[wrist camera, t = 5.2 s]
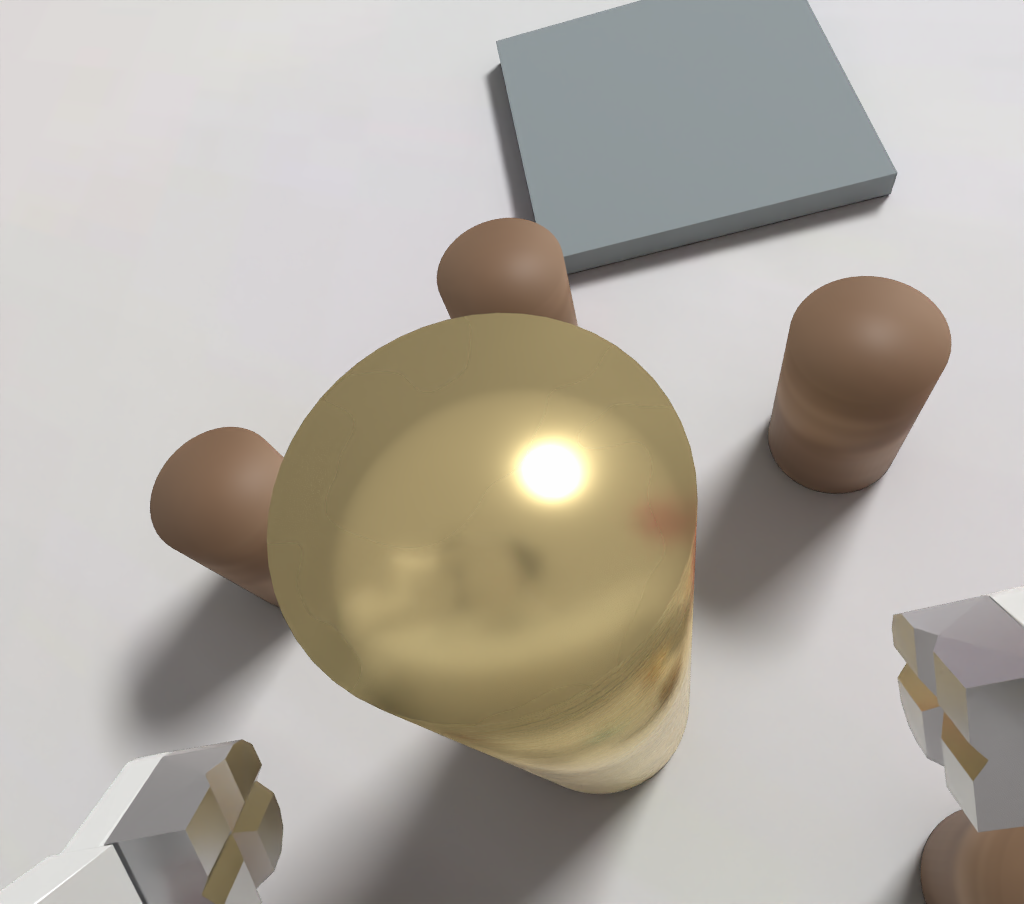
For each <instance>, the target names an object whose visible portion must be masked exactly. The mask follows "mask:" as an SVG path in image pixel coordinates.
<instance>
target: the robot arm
mask: <svg viewBox="0 0 1024 904" xmlns="http://www.w3.org/2000/svg"><path fill="white" fill-rule="evenodd" d="M892 633H893V642H894V646H895V648H896V649H897V650H898V652H899V653H900V654H901V656H902V657H903V658H904V660H905V661H906V662H907V663H906V665H905V667H904V668H903V670H902V671H901V673H900V675H899V676H898V684H899V691H900V697H901V703H902V706H903V709H904V713H905V716H906V719H907V722H908V725H909V727H910V729H911V731H912V734H913V736H914V738H915V740H916V742H917V743H918V745H919V746H920V748H921V749H922V751H923V753H924V754H925V756H926V757H927V758H928V759H930V760H932V761H934V762H936V763H938V764H940V765H942V766H944V768H945V777H946V786H947V788H948V790H949V791H950V792H951V794H952V795H953V797H954V798H955V800H956V801H957V803H958V804H959V806H960V807H961V808H962V810H963V811H964V813H965V814H966V816H967V817H968V819H969V820H970V821H971V823H972V824H973V826H974V827H975V829H976V830H977V832H985V831H993V830H1000V829H1008V828H1015V827H1023V826H1024V586H1020V587H1016V588H1012V589H1007V590H1003V591H998V592H994V593H990V594H985V595H981V596H979V597H975V598H970V599H965V600H961V601H956V602H951V603H947V604H942V605H937V606H932V607H928V608H923V609H918V610H914V611H909V612H904V613H900V614H895V615H893V623H892ZM261 766H262V764H261V762H260V760H259V758H258V756H257V754H256V751H255V749H254V747H253V745H252V744H251V743H248V742H246V741H244V740H242V739H241V740H235V741H230V742H224V743H218V744H212V745H206V746H200V747H194V748H189V749H183V750H177V751H173V752H164V753H160V754H155V755H150V756H145V757H140V758H137V759H135V760H132V761H130V762H128V763H127V764H126V765H125V766H124V768H123V769H122V770H121V772H120V773H119V775H118V776H117V777H116V779H115V780H114V781H113V783H112V784H111V786H110V787H109V788H108V790H107V791H106V792H105V794H104V795H103V796H102V798H101V799H100V801H99V802H98V803H97V805H96V806H95V807H94V809H93V810H92V812H91V813H90V814H89V816H88V817H87V818H86V820H85V821H84V822H83V824H82V825H81V827H80V828H79V829H78V831H77V832H76V833H75V835H74V836H73V838H72V839H71V840H70V842H69V843H68V844H67V846H66V847H65V848H64V850H63V851H62V853H61V854H57V855H51V856H48V857H47V858H46V859H44V860H43V861H41V862H40V863H39V864H37V865H36V866H34V867H33V868H32V869H30V870H29V871H27V872H26V873H25V874H23V875H22V876H21V877H19V878H18V879H16V880H15V881H14V882H12V883H11V884H9V885H8V886H7V887H5V888H4V889H3V890H1V891H0V904H262V901H261V898H260V896H259V894H258V891H257V888H258V887H259V886H260V885H261V884H262V883H263V882H264V881H265V880H266V879H267V878H268V877H269V876H270V875H271V874H272V873H273V872H274V870H275V868H276V865H277V862H278V859H279V857H280V854H281V850H282V837H283V823H282V818H281V812H280V808H279V805H278V803H277V800H276V798H275V795H274V793H273V792H272V791H270V790H269V789H267V788H266V787H265V786H263V785H262V784H260V783H259V782H257V778H258V775H259V772H260V769H261Z"/></svg>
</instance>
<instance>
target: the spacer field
mask: <svg viewBox="0 0 1024 904" xmlns="http://www.w3.org/2000/svg"><path fill="white" fill-rule="evenodd" d="M437 285H438V290H439V293H440V295H441V297H442V300H443V302H444V304H445V306H446V309H447V311H448V313H449V315H450V318H451V319H454V318H459V317H464V316H469V315H478V314H490V313H517V314H528V315H535V316H542V317H548V318H551V319H555V320H559V321H562V322H566V323H570V324H573V325H575V326H578V325H577V320H576V315H575V310H574V305H573V300H572V295H571V291H570V286H569V281H568V276H567V271H566V266H565V261H564V257H563V252H562V249H561V246H560V244H559V242H558V240H557V239H556V238H555V236H554V235H553V234H552V233H551V232H550V231H549V230H547V229H546V228H545V227H543V226H541V225H539V224H537V223H535V222H532V221H529V220H525V219H519V218H502V219H495V220H490V221H487V222H484V223H481V224H479V225H477V226H474V227H473V228H471V229H469V230H467V231H466V232H464V233H463V234H461V235H460V236H459V237H458V238H457V239H456V240H455V241H454V242H453V243H452V244H451V245H450V246H449V247H448V249H447V250H446V251H445V253H444V255H443V257H442V259H441V261H440V264H439V267H438V271H437ZM950 352H951V334H950V330H949V327H948V324H947V322H946V319H945V318H944V316H943V314H942V313H941V311H940V310H939V309H938V307H937V306H936V305H935V304H934V303H933V302H932V301H931V300H930V299H929V298H928V297H926V296H925V295H924V294H922V293H921V292H920V291H918V290H916V289H914V288H913V287H911V286H908V285H906V284H904V283H901V282H898V281H895V280H892V279H887V278H883V277H874V276H858V277H849V278H844V279H840V280H837V281H833V282H831V283H829V284H826V285H824V286H822V287H820V288H819V289H817V290H815V291H814V292H813V293H811V294H810V295H809V296H808V297H807V298H806V299H805V300H804V301H803V302H802V303H801V304H800V306H799V307H798V308H797V310H796V312H795V313H794V315H793V318H792V321H791V324H790V329H789V334H788V339H787V343H786V348H785V353H784V358H783V363H782V367H781V372H780V377H779V382H778V386H777V391H776V396H775V401H774V406H773V410H772V415H771V420H770V425H769V430H768V441H769V447H770V451H771V453H772V456H773V458H774V460H775V461H776V463H777V464H778V466H779V467H780V468H781V469H782V471H783V472H784V473H785V474H786V475H787V476H789V477H790V478H791V479H793V480H794V481H796V482H797V483H799V484H801V485H803V486H805V487H807V488H809V489H812V490H816V491H820V492H825V493H848V492H853V491H857V490H860V489H863V488H865V487H868V486H869V485H871V484H873V483H874V482H876V481H877V480H878V479H880V478H881V477H882V476H883V475H884V474H885V473H886V471H887V470H888V468H889V467H890V465H891V464H892V462H893V460H894V458H895V456H896V455H897V453H898V451H899V449H900V447H901V446H902V444H903V442H904V440H905V438H906V437H907V435H908V433H909V431H910V429H911V428H912V426H913V424H914V422H915V420H916V419H917V417H918V415H919V413H920V411H921V410H922V408H923V406H924V404H925V402H926V401H927V399H928V397H929V395H930V394H931V392H932V390H933V388H934V386H935V385H936V383H937V381H938V379H939V377H940V376H941V374H942V372H943V370H944V368H945V366H946V364H947V362H948V359H949V356H950ZM283 459H284V457H283V456H282V455H280V454H279V453H278V452H277V451H276V450H275V449H274V448H273V447H272V446H271V445H270V444H269V443H268V442H267V441H266V440H265V439H263V438H262V437H261V436H260V435H258V434H256V433H255V432H253V431H250V430H247V429H244V428H239V427H223V428H217V429H213V430H210V431H207V432H204V433H202V434H200V435H198V436H196V437H194V438H192V439H191V440H189V441H188V442H186V443H185V444H184V445H182V446H181V447H180V448H179V449H178V450H177V451H176V452H175V453H174V454H173V455H172V456H171V457H170V458H169V459H168V461H167V462H166V463H165V465H164V466H163V468H162V469H161V471H160V473H159V475H158V477H157V479H156V481H155V484H154V486H153V490H152V494H151V501H150V513H151V519H152V523H153V526H154V528H155V530H156V532H157V534H158V535H159V536H160V538H161V539H162V540H163V541H164V542H165V543H166V544H167V545H169V546H170V547H172V548H173V549H175V550H177V551H179V552H180V553H182V554H184V555H186V556H187V557H189V558H191V559H193V560H195V561H196V562H198V563H200V564H202V565H203V566H205V567H207V568H209V569H210V570H212V571H214V572H216V573H217V574H219V575H221V576H223V577H224V578H226V579H228V580H230V581H232V582H233V583H235V584H237V585H239V586H240V587H242V588H244V589H246V590H247V591H249V592H251V593H253V594H254V595H256V596H258V597H260V598H261V599H263V600H265V601H267V602H269V603H270V604H272V605H275V606H277V607H280V606H279V603H278V601H277V598H276V595H275V593H274V589H273V584H272V579H271V575H270V570H269V564H268V551H267V527H268V513H269V508H270V502H271V497H272V492H273V488H274V484H275V481H276V478H277V475H278V472H279V469H280V466H281V463H282V461H283ZM920 871H921V885H922V891H923V895H924V899H925V902H926V904H1024V826H1023V827H1015V828H1008V829H1000V830H993V831H985V832H977V830H976V829H975V827H974V826H973V824H972V823H971V821H970V820H969V819H968V817H967V816H966V814H965V813H964V811H963V810H959V811H957V812H955V813H953V814H951V815H950V816H948V817H946V818H945V819H944V820H943V821H942V822H940V823H939V824H938V826H937V827H936V828H935V829H934V830H933V832H932V833H931V835H930V837H929V838H928V840H927V843H926V845H925V847H924V851H923V855H922V859H921V869H920Z"/></svg>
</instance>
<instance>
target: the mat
mask: <svg viewBox="0 0 1024 904" xmlns="http://www.w3.org/2000/svg"><path fill="white" fill-rule="evenodd" d="M496 44H497V49H498V53H499V58H500V62H501V67H502V71H503V76H504V80H505V85H506V90H507V94H508V99H509V103H510V108H511V112H512V117H513V121H514V126H515V130H516V135H517V139H518V144H519V149H520V153H521V158H522V162H523V167H524V171H525V176H526V180H527V185H528V189H529V194H530V198H531V203H532V208H533V212H534V217H535V221H536V223H537V224H539V225H541V226H543V227H545V228H546V229H547V230H549V231H550V232H551V233H552V234H553V235H554V236H555V238H556V239H557V240H558V242H559V244H560V246H561V249H562V252H563V257H564V261H565V266H566V271H567V274H570V273H574V272H578V271H582V270H586V269H590V268H594V267H598V266H602V265H606V264H610V263H614V262H618V261H622V260H626V259H630V258H634V257H638V256H642V255H646V254H650V253H654V252H658V251H663V250H667V249H671V248H675V247H679V246H683V245H687V244H691V243H695V242H699V241H703V240H707V239H711V238H715V237H719V236H723V235H727V234H731V233H735V232H739V231H743V230H747V229H751V228H755V227H759V226H763V225H767V224H771V223H775V222H779V221H783V220H787V219H791V218H795V217H799V216H803V215H807V214H811V213H815V212H819V211H823V210H827V209H831V208H835V207H839V206H843V205H848V204H852V203H856V202H860V201H864V200H868V199H872V198H876V197H880V196H884V195H888V194H891V191H892V188H893V185H894V182H895V179H896V176H897V171H896V169H895V167H894V166H893V164H892V162H891V160H890V158H889V156H888V154H887V152H886V150H885V148H884V146H883V145H882V143H881V141H880V139H879V137H878V135H877V133H876V131H875V129H874V127H873V125H872V124H871V122H870V120H869V118H868V116H867V114H866V112H865V110H864V108H863V106H862V105H861V103H860V101H859V99H858V97H857V95H856V93H855V91H854V89H853V87H852V85H851V84H850V82H849V80H848V78H847V76H846V74H845V72H844V70H843V68H842V66H841V64H840V63H839V61H838V59H837V57H836V55H835V53H834V51H833V49H832V47H831V45H830V43H829V42H828V40H827V38H826V36H825V34H824V32H823V30H822V28H821V26H820V24H819V22H818V21H817V19H816V17H815V15H814V13H813V11H812V9H811V7H810V5H809V3H808V1H807V0H641V1H637V2H633V3H630V4H626V5H623V6H619V7H616V8H612V9H609V10H605V11H602V12H598V13H595V14H591V15H587V16H584V17H580V18H577V19H573V20H570V21H566V22H563V23H559V24H556V25H552V26H548V27H545V28H541V29H538V30H534V31H531V32H527V33H524V34H520V35H517V36H513V37H510V38H506V39H502V40H499V41H496Z"/></svg>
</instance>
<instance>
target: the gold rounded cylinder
mask: <svg viewBox="0 0 1024 904" xmlns="http://www.w3.org/2000/svg"><path fill="white" fill-rule="evenodd" d="M697 502H698V500H697V484H696V472H695V467H694V462H693V457H692V453H691V448H690V445H689V442H688V439H687V436H686V434H685V431H684V428H683V426H682V423H681V421H680V419H679V417H678V415H677V413H676V412H675V410H674V408H673V406H672V404H671V402H670V401H669V399H668V397H667V396H666V395H665V393H664V392H663V391H662V389H661V388H660V387H659V385H658V384H657V383H656V381H655V380H654V379H653V378H652V377H651V376H650V375H649V374H648V373H647V372H646V371H645V370H644V369H643V368H642V367H641V366H640V365H639V364H638V363H637V362H636V361H635V360H634V359H633V358H631V357H630V356H629V355H627V354H626V353H625V352H623V351H622V350H621V349H619V348H618V347H617V346H616V345H614V344H612V343H610V342H609V341H607V340H605V339H603V338H601V337H600V336H598V335H596V334H594V333H592V332H590V331H587V330H585V329H582V328H580V327H578V326H575V325H573V324H570V323H566V322H562V321H559V320H555V319H551V318H548V317H542V316H535V315H528V314H517V313H490V314H478V315H469V316H464V317H459V318H454V319H448V320H445V321H442V322H438V323H435V324H432V325H428V326H425V327H422V328H420V329H418V330H415V331H413V332H410V333H408V334H406V335H403V336H401V337H399V338H397V339H395V340H394V341H392V342H390V343H388V344H386V345H384V346H383V347H381V348H379V349H377V350H376V351H374V352H373V353H372V354H370V355H369V356H367V357H366V358H364V359H363V360H361V361H360V362H359V363H357V364H356V365H355V366H354V367H352V368H351V369H350V370H349V371H348V372H347V373H345V374H344V375H343V376H342V377H341V378H340V379H338V380H337V381H336V382H335V384H334V385H333V386H332V387H331V388H330V389H329V390H328V391H327V392H326V393H325V394H324V395H323V396H322V397H321V398H320V400H319V401H318V402H317V404H316V405H315V406H314V407H313V409H312V410H311V411H310V413H309V414H308V415H307V417H306V418H305V419H304V421H303V423H302V424H301V426H300V428H299V429H298V431H297V433H296V434H295V436H294V438H293V439H292V441H291V443H290V445H289V448H288V450H287V452H286V454H285V457H284V459H283V461H282V463H281V466H280V469H279V472H278V475H277V478H276V481H275V484H274V488H273V492H272V497H271V502H270V508H269V513H268V527H267V551H268V564H269V570H270V575H271V579H272V584H273V589H274V593H275V595H276V598H277V601H278V603H279V606H280V609H281V611H282V614H283V617H284V619H285V620H286V622H287V624H288V626H289V628H290V629H291V631H292V633H293V635H294V637H295V639H296V640H297V641H298V643H299V644H300V645H301V647H302V648H303V649H304V651H305V652H306V653H307V655H308V656H309V657H310V658H311V660H312V661H313V662H314V663H315V664H316V665H317V666H318V667H319V668H320V669H321V670H322V671H323V672H324V673H325V674H326V675H327V676H328V677H330V678H331V679H332V680H333V681H334V682H335V683H337V684H338V685H340V686H341V687H343V688H344V689H345V690H347V691H348V692H350V693H351V694H353V695H354V696H355V697H357V698H359V699H361V700H363V701H365V702H367V703H369V704H371V705H373V706H375V707H377V708H379V709H381V710H384V711H386V712H388V713H391V714H393V715H395V716H398V717H400V718H402V719H405V720H407V721H410V722H412V723H414V724H417V725H419V726H421V727H424V728H426V729H428V730H431V731H433V732H436V733H438V734H440V735H443V736H445V737H447V738H450V739H452V740H454V741H457V742H459V743H461V744H464V745H466V746H469V747H471V748H473V749H476V750H478V751H480V752H483V753H485V754H487V755H490V756H492V757H495V758H497V759H499V760H502V761H504V762H506V763H509V764H511V765H513V766H516V767H518V768H521V769H523V770H525V771H528V772H530V773H532V774H535V775H537V776H539V777H542V778H544V779H547V780H549V781H551V782H554V783H556V784H558V785H561V786H563V787H566V788H569V789H572V790H575V791H578V792H584V793H589V794H607V793H616V792H620V791H623V790H627V789H630V788H632V787H634V786H637V785H639V784H641V783H642V782H644V781H646V780H648V779H649V778H651V777H652V776H653V775H654V774H656V773H657V772H658V771H659V770H660V769H661V768H662V767H663V766H664V765H665V764H666V763H667V762H668V761H669V759H670V758H671V756H672V755H673V753H674V752H675V751H676V749H677V747H678V745H679V743H680V741H681V739H682V736H683V733H684V730H685V728H686V723H687V718H688V711H689V695H690V671H691V647H692V623H693V599H694V574H695V550H696V526H697Z"/></svg>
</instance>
